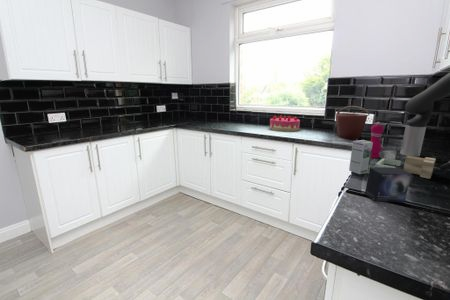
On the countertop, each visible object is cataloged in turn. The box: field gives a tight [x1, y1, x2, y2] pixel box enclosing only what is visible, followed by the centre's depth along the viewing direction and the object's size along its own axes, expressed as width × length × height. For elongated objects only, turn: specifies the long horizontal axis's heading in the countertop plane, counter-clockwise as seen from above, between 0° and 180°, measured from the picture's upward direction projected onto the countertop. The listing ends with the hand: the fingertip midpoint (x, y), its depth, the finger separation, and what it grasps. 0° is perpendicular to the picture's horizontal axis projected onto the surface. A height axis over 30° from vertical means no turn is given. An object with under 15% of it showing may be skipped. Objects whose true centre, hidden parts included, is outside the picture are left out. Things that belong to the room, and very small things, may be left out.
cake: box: [269, 115, 301, 132], centre depth 226 cm, size 28×28×12 cm
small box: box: [364, 166, 413, 203], centre depth 80 cm, size 11×6×10 cm, turn 90°
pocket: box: [374, 157, 402, 168], centre depth 115 cm, size 15×8×2 cm, turn 135°
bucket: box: [335, 105, 371, 140], centre depth 188 cm, size 24×22×25 cm
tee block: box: [402, 155, 437, 180], centre depth 107 cm, size 10×10×7 cm
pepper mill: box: [369, 121, 385, 159], centre depth 132 cm, size 7×7×20 cm
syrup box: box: [348, 139, 373, 175], centre depth 106 cm, size 6×6×14 cm
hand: (440, 169), depth 101 cm, fingers closed
